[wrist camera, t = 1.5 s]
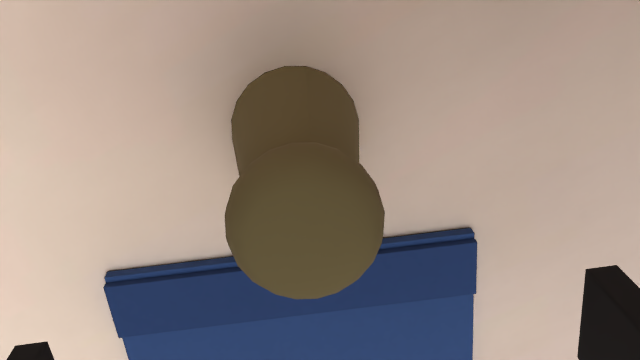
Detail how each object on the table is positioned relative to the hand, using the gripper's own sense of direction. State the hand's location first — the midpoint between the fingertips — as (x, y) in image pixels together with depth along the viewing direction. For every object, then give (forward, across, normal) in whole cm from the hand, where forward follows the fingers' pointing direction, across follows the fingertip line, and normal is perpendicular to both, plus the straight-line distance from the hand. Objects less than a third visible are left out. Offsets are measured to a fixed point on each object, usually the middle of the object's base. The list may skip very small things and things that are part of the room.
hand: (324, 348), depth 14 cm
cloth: (+15, -1, -11) cm, 19 cm away
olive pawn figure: (+15, 0, +1) cm, 15 cm away
